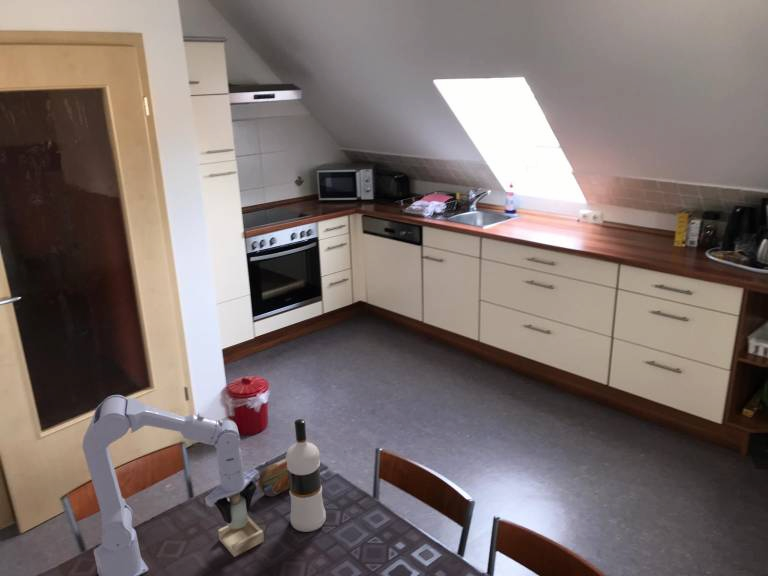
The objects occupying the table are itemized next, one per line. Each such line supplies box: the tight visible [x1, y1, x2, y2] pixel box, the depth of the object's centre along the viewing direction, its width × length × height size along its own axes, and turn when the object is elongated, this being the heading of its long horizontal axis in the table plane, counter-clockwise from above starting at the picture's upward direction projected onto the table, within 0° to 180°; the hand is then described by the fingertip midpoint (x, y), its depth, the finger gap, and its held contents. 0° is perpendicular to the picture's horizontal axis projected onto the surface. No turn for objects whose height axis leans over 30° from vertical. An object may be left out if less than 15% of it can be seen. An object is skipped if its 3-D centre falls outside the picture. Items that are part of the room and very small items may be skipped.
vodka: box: [285, 418, 327, 533], centre depth 157 cm, size 9×9×30 cm
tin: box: [257, 457, 290, 497], centre depth 175 cm, size 15×3×8 cm, turn 129°
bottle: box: [226, 493, 249, 529], centre depth 153 cm, size 5×5×8 cm
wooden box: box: [217, 514, 265, 558], centre depth 156 cm, size 8×8×3 cm
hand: (237, 515), depth 153 cm, fingers closed on bottle, 5 cm apart
